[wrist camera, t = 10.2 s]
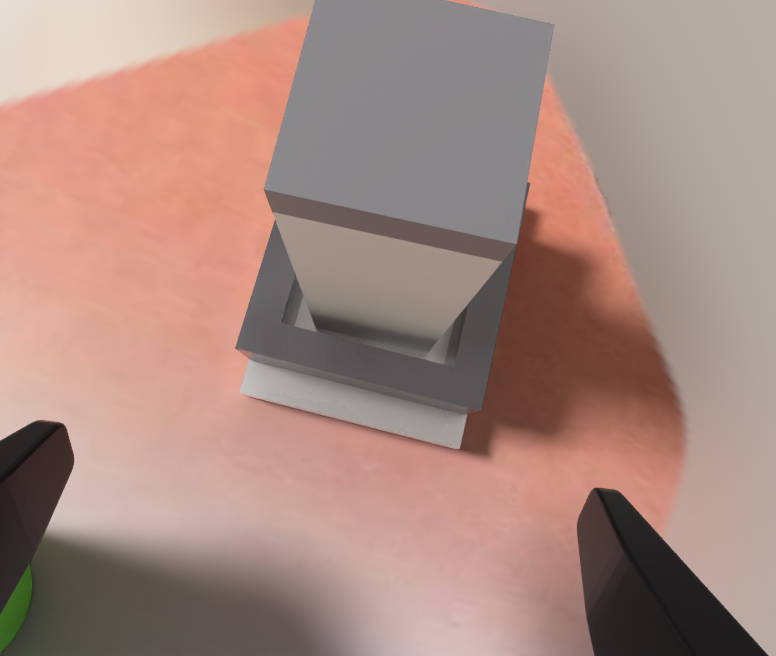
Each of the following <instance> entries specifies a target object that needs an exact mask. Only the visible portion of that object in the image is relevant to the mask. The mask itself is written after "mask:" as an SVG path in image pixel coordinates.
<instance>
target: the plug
mask: <svg viewBox="0 0 776 656" xmlns="http://www.w3.org/2000/svg"><path fill="white" fill-rule="evenodd" d="M553 28H554V24H550V23H545V22H540V21H536V20H532V19H527V18H523V17H518V16H514V15H509V14H505V13H500V12H496V11H491V10H487V9H482V8H478V7H473V6H469V5H464V4H460V3H455V2H451V1H446V0H315V3H314V7H313V10H312V14H311V18H310V21H309V25H308V29H307V32H306V36H305V40H304V43H303V47H302V51H301V54H300V58H299V62H298V65H297V69H296V73H295V76H294V80H293V84H292V88H291V91H290V95H289V99H288V102H287V106H286V110H285V113H284V117H283V121H282V124H281V128H280V132H279V135H278V139H277V143H276V146H275V150H274V154H273V158H272V161H271V165H270V169H269V172H268V176H267V180H266V183H265V187H264V191H265V194H266V196H267V199H268V202H269V205H270V207H271V210H272V213H273V215H274V218H275V221H276V223H277V226H278V229H279V231H280V234H281V237H282V239H283V242H284V245H285V247H286V250H287V253H288V256H289V258H290V261H291V264H292V266H293V269H294V272H295V274H296V277H297V280H298V282H299V285H300V288H301V290H302V293H303V296H304V298H305V301H306V304H307V307H308V309H309V312H310V315H311V317H312V320H313V323H314V325H315V328H318V329H322V330H327V331H332V332H336V333H341V334H346V335H350V336H355V337H360V338H364V339H369V340H374V341H378V342H383V343H388V344H392V345H397V346H402V347H406V348H411V349H416V350H420V351H425V352H429V351H430V350H431V349H432V347H433V346H434V345H435V344H436V343H437V341H438V340H439V339H440V338H441V336H442V335H443V334H444V333H445V332H446V330H447V329H448V328H449V327H450V325H451V324H452V323H453V322H454V320H455V319H456V318H457V317H458V316H459V314H460V313H461V312H462V311H463V309H464V308H465V307H466V306H467V305H468V303H469V302H470V301H471V300H472V298H473V297H474V296H475V295H476V294H477V292H478V291H479V290H480V289H481V287H482V286H483V285H484V284H485V282H486V281H487V280H488V279H489V278H490V276H491V275H492V274H493V273H494V271H495V270H496V269H497V268H498V267H499V265H500V264H501V263H502V262H503V260H504V259H505V258H506V257H507V256H508V254H509V253H510V252H511V251H512V249H513V248H514V247H515V246H516V244H517V239H518V234H519V228H520V222H521V216H522V210H523V204H524V198H525V192H526V187H527V181H528V175H529V169H530V163H531V157H532V151H533V146H534V140H535V134H536V128H537V122H538V116H539V110H540V104H541V99H542V93H543V87H544V81H545V75H546V69H547V63H548V57H549V51H550V46H551V40H552V34H553Z"/></svg>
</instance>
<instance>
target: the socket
mask: <svg viewBox="0 0 776 656" xmlns="http://www.w3.org/2000/svg"><path fill="white" fill-rule="evenodd" d="M529 186H530V183H527V187H526V192H525V198H524V204H523V210H522V216H521V222H520V228H521V223H522V219H523V214H524V209H525V205H526V200H527V195H528V191H529ZM520 228H519V233H520ZM518 237H519V234H518ZM517 242H518V239H517ZM516 247H517V244H516V246H515V247H514V248H513V249H512V251H511V252H510V253H509V254H508V256H507V257H506V258H505V259H504V260H503V262H502V263H501V264H500V265H499V267H498V268H497V269H496V270H495V271H494V273H493V274H492V275H491V276H490V278H489V279H488V280H487V281H486V282H485V284H484V285H483V286H482V287H481V289H480V290H479V291H478V292H477V294H476V295H475V296H474V297H473V298H472V300H471V301H470V302H469V303H468V305H467V306H466V307H465V308H464V309H463V311H462V312H461V313H460V314H459V316H458V317H457V318H456V319H455V320H454V322H453V323H452V324H451V325H450V327H449V328H448V329H447V330H446V332H445V333H444V334H443V335H442V336H441V338H440V339H439V340H438V341H437V343H436V344H435V345H434V346H433V347H432V349H431V350H430V351H429V352H425V351H420V350H416V349H411V348H406V347H402V346H397V345H392V344H388V343H383V342H378V341H374V340H369V339H364V338H360V337H355V336H350V335H346V334H341V333H336V332H332V331H327V330H322V329H318V328H315V325H314V323H313V320H312V317H311V315H310V312H309V309H308V307H307V304H306V301H305V298H304V296H303V293H302V290H301V288H300V285H299V282H298V280H297V277H296V274H295V272H294V269H293V266H292V264H291V261H290V258H289V256H288V253H287V250H286V247H285V245H284V242H283V239H282V237H281V234H280V231H279V229H278V226H277V223H276V221H275V222H274V225H273V228H272V231H271V234H270V238H269V241H268V244H267V247H266V251H265V254H264V257H263V260H262V264H261V267H260V270H259V273H258V276H257V280H256V283H255V286H254V289H253V293H252V296H251V299H250V302H249V305H248V309H247V312H246V315H245V318H244V322H243V325H242V328H241V331H240V335H239V338H238V341H237V344H236V347H235V348H236V349H237V350H238V351H240V352H241V353H242V354H244V355H245V356H246V357H248V358H249V362H248V366H247V369H246V372H245V375H244V379H243V382H242V385H241V389H240V392H239V393H241V394H243V395H246V396H249V397H253V398H257V399H261V400H264V401H268V402H272V403H276V404H280V405H284V406H288V407H292V408H296V409H300V410H304V411H307V412H311V413H315V414H319V415H323V416H327V417H331V418H335V419H339V420H343V421H347V422H350V423H354V424H358V425H362V426H366V427H370V428H374V429H378V430H382V431H386V432H390V433H394V434H397V435H401V436H405V437H409V438H413V439H417V440H421V441H425V442H429V443H433V444H437V445H440V446H444V447H448V448H452V449H460V445H461V441H462V436H463V432H464V427H465V423H466V418H467V414H471V413H475V412H480V411H481V410H482V405H483V401H484V396H485V391H486V387H487V382H488V377H489V373H490V368H491V363H492V359H493V354H494V349H495V345H496V340H497V335H498V331H499V326H500V321H501V317H502V312H503V307H504V303H505V298H506V293H507V289H508V284H509V279H510V275H511V270H512V265H513V261H514V256H515V251H516Z"/></svg>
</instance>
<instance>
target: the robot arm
mask: <svg viewBox="0 0 776 656" xmlns="http://www.w3.org/2000/svg"><path fill="white" fill-rule="evenodd" d="M73 465H74V454H73V450H72V447H71V443H70V439H69V436H68V432H67V429H66V426H65V425H64V424H63V423H60V422H54V421H45V420H38V421H35V422H32V423H31V424H29V425H27V426H25V427H23V428H22V429H20V430H18V431H16V432H15V433H13V434H11V435H9V436H8V437H6V438H4V439H2V440H1V441H0V614H1V613H2V611H3V609H4V607H5V606H6V604H7V602H8V600H9V599H10V597H11V595H12V593H13V592H14V590H15V588H16V586H17V585H18V583H19V581H20V579H21V578H22V576H23V574H24V573H25V571H26V569H27V567H28V565H29V564H30V562H31V560H32V558H33V556H34V554H35V552H36V550H37V548H38V546H39V544H40V542H41V540H42V537H43V535H44V533H45V531H46V528H47V526H48V524H49V522H50V519H51V517H52V515H53V513H54V510H55V508H56V506H57V503H58V501H59V499H60V497H61V494H62V492H63V490H64V488H65V485H66V483H67V481H68V479H69V476H70V474H71V472H72V469H73ZM577 536H578V545H579V554H580V564H581V573H582V583H583V592H584V601H585V609H586V617H587V623H588V628H589V633H590V638H591V642H592V647H593V652H594V656H768V655H767V654H766V652H765V651H764V650H763V649H762V648H761V647H760V646H759V645H758V643H757V642H756V641H755V640H754V639H753V638H752V637H751V636H750V635H749V634H748V632H747V631H746V630H745V629H744V628H743V627H742V626H741V625H740V624H739V623H738V621H737V620H736V619H735V618H734V617H733V616H732V615H731V614H730V613H729V612H728V610H727V609H726V608H725V607H724V606H723V605H722V604H721V603H720V602H719V600H717V598H716V597H715V596H714V595H713V594H712V593H711V592H710V591H709V590H708V588H707V587H706V586H705V585H704V584H703V583H702V582H701V581H700V580H699V578H698V577H697V576H696V575H695V574H694V573H693V572H692V571H691V570H690V568H688V566H687V565H686V564H685V563H684V562H683V561H682V560H681V559H680V557H679V556H678V555H677V554H676V553H675V552H674V551H673V550H672V549H671V548H670V546H669V545H668V544H667V543H666V542H665V541H664V540H663V539H662V538H661V537H660V535H659V534H658V533H657V532H656V531H655V530H654V529H653V528H652V527H651V525H650V524H649V523H648V522H647V521H646V520H645V519H644V518H643V517H642V516H641V514H640V513H639V512H638V511H637V510H636V509H635V508H634V507H633V506H632V505H631V503H630V502H629V501H628V500H627V499H626V498H625V497H624V496H623V495H622V494H621V493H620V492H619V491H617V490H613V489H605V488H594V489H593V490H591V492H590V494H589V496H588V498H587V500H586V502H585V504H584V507H583V509H582V511H581V513H580V515H579V518H578V522H577Z"/></svg>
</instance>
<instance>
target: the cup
mask: <svg viewBox="0 0 776 656" xmlns="http://www.w3.org/2000/svg"><path fill="white" fill-rule="evenodd" d="M32 583H33V581H32V575H31V568H30V564H29V565H28V567H27V569H26V571H25V573H24V574H23V576H22V578H21V579H20V581H19V583H18V585H17V586H16V588H15V590H14V592H13V593H12V595H11V597H10V599H9V600H8V602H7V604H6V606H5V607H4V609H3V611H2V613H1V614H0V653H1V652H2V651H3V650H4V649H5V648H6V647H7V646H8V645H9V643H10V642H11V641H12V640H13V639H14V637H15V636H16V634H17V632H18V631H19V629H20V627H21V625H22V624H23V622H24V619H25V616H26V613H27V610H28V607H29V604H30V601H31V595H32Z"/></svg>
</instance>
